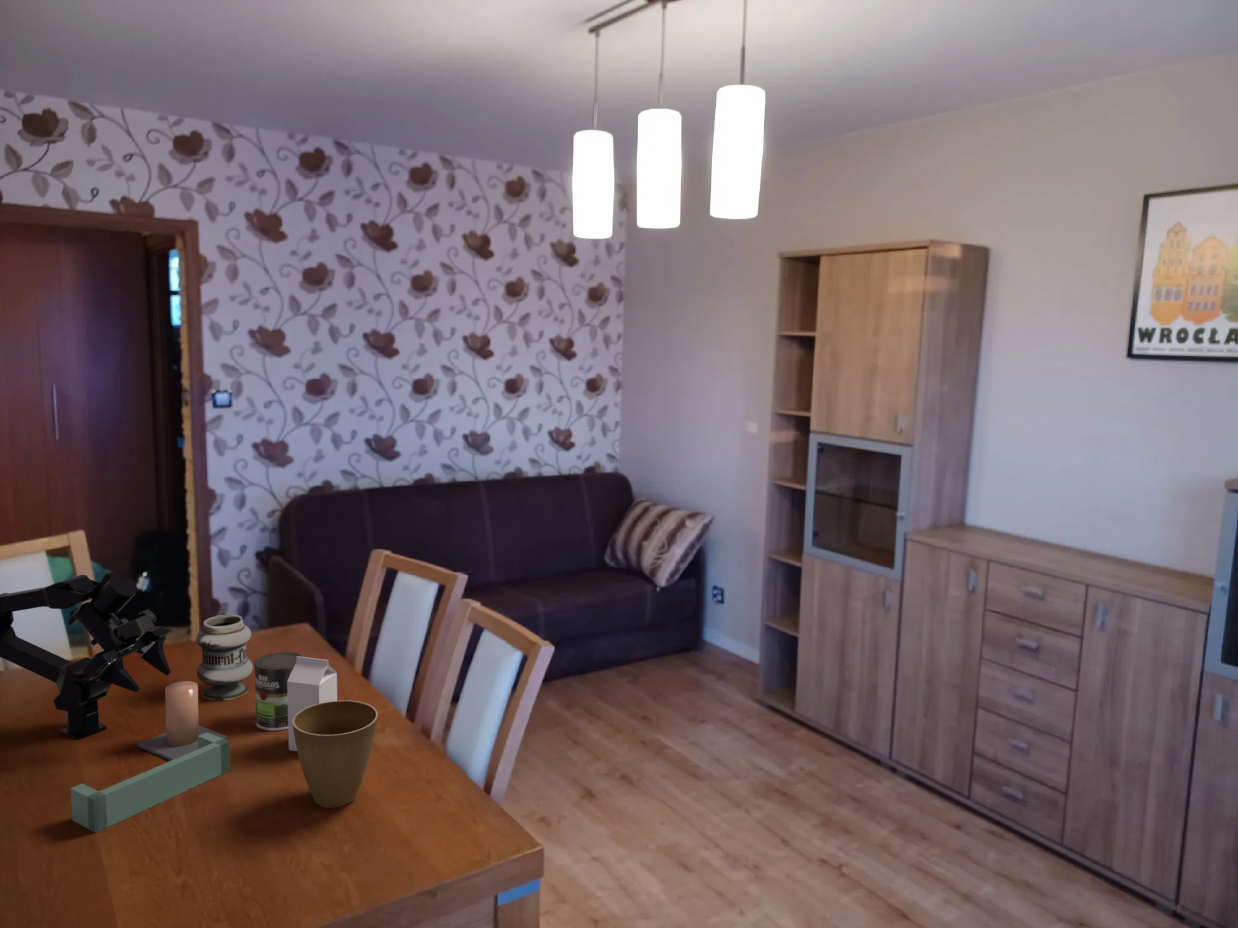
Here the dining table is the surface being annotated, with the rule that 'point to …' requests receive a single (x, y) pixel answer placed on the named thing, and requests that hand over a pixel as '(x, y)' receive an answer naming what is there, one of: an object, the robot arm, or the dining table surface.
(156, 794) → the green bracket handle
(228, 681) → the apothecary jar
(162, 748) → the mat
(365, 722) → the plant pot
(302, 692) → the milk carton
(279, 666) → the coffee can
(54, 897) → the dining table surface
